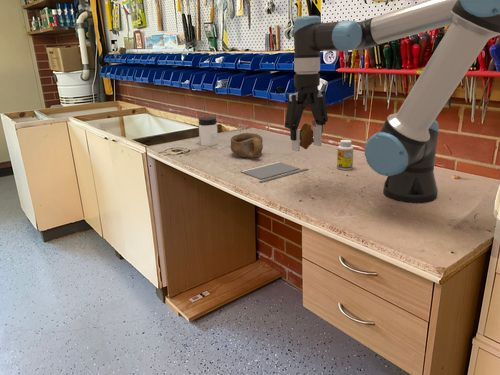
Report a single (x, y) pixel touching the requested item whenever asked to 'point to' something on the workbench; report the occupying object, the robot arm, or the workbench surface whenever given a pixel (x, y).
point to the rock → (306, 135)
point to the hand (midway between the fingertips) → (306, 147)
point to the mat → (269, 170)
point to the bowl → (247, 145)
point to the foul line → (283, 175)
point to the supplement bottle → (345, 155)
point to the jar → (208, 131)
